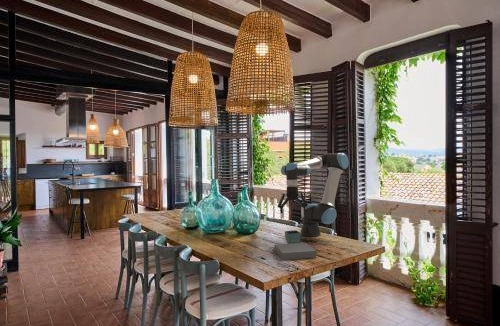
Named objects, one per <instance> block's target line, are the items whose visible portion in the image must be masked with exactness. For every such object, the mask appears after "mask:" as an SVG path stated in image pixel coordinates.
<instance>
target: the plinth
mask: <svg viewBox="0 0 500 326" xmlns="http://www.w3.org/2000/svg"><path fill="white" fill-rule="evenodd" d="M274 252H275V253H276V254H277V255H278V256H279V257H280V258H281V259H282V261H285V260H289V261H290V260H300V259H316V258H317V250H315V248H313V247H311V246H310V245H309V244H307V243H306V242H300V243H290V244H288V243H275V244H274Z"/></svg>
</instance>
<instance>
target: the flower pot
mask: <svg viewBox="0 0 500 326" xmlns="http://www.w3.org/2000/svg"><path fill="white" fill-rule="evenodd" d="M284 237H285V240H286V244H290V243H301V239H302V238H301V237H302V235H301V233H300V231H298V230H287V231H284Z"/></svg>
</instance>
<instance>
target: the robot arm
mask: <svg viewBox="0 0 500 326" xmlns="http://www.w3.org/2000/svg"><path fill="white" fill-rule="evenodd" d="M349 165H350V164H349V157H348V155H347V154H345V153H343V152H335V153H332V152H331V153H325V154H320V155H317V156H315V157H313V158H311V159H307V160H303V161H300V162H287V163H286V164H285V165H282V166H281V168H280V173H281V174H282V175H283V176H286V181H285V182H286V193H281V196H280V199H279V203H278V204H277V207H278V208H279V211H280V214H281V219H285V209H284V207H285V205H287V203H288V202H289V201H295V200H296V202H297V203H298V204H299V205H300V206H301V207H300V208H301V209H300V210H301V211H300V215H301V218H302V225H301V228H300V231H299V232H300V233H301V237H308V238H309V237H320V236H321V235H322V234H321V229H320V226H319V223H321V224H325V225H330V224H333V223H334V222H335V220H336V218H337V210H336V209H335V208H336V207H335V205H334V203H335V200H336V195H337V192H338V188H339V184H340V183H339V182H340V179H341V178H340V177H341V174H343V173H344V171H345V170H346V169H347V168H348V167H349ZM315 169H317V170H318V169H327V170H328V176H327V177H326V178H327V179H326V183H325V187H324V191H323V195H322V199H321V201H320V202H318V204H317V203H309V204H308V203H307V201H306V199H305V198H304V195H303V192H299V186H298V185H299V181H298V179H299V177H307V176H310V174H311V172H312V170H315ZM285 197H286V198H285ZM299 197H300V198H299ZM300 199H301V200H300Z"/></svg>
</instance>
